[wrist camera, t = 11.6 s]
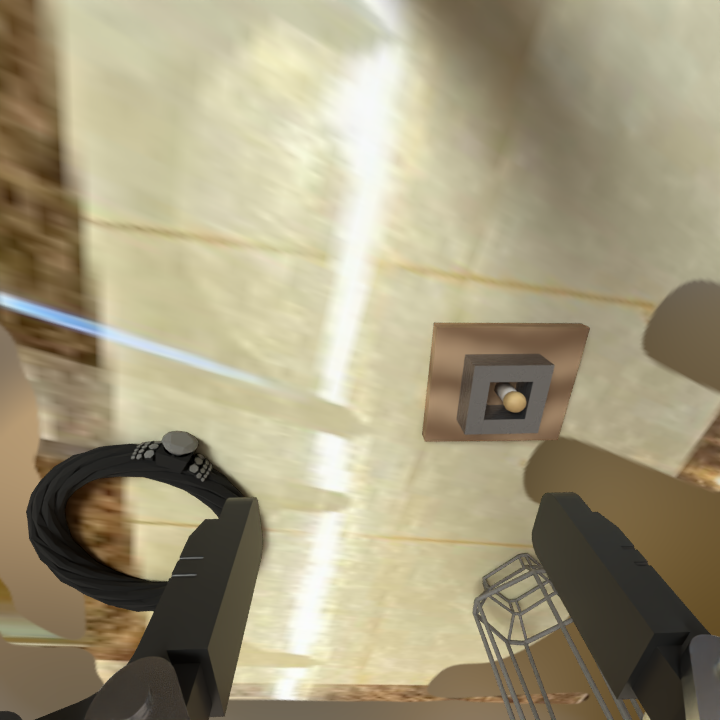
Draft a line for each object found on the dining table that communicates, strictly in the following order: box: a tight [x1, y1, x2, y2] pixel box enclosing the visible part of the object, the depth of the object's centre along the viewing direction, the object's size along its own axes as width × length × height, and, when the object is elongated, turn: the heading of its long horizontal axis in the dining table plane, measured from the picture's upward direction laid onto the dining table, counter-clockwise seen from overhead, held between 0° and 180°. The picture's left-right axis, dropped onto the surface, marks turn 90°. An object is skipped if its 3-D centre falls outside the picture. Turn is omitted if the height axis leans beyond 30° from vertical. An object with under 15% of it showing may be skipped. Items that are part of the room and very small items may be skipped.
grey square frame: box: [456, 354, 555, 435], centre depth 38 cm, size 8×8×3 cm
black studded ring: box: [26, 431, 244, 612], centre depth 45 cm, size 28×4×30 cm
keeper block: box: [422, 323, 590, 441], centre depth 38 cm, size 14×16×6 cm
